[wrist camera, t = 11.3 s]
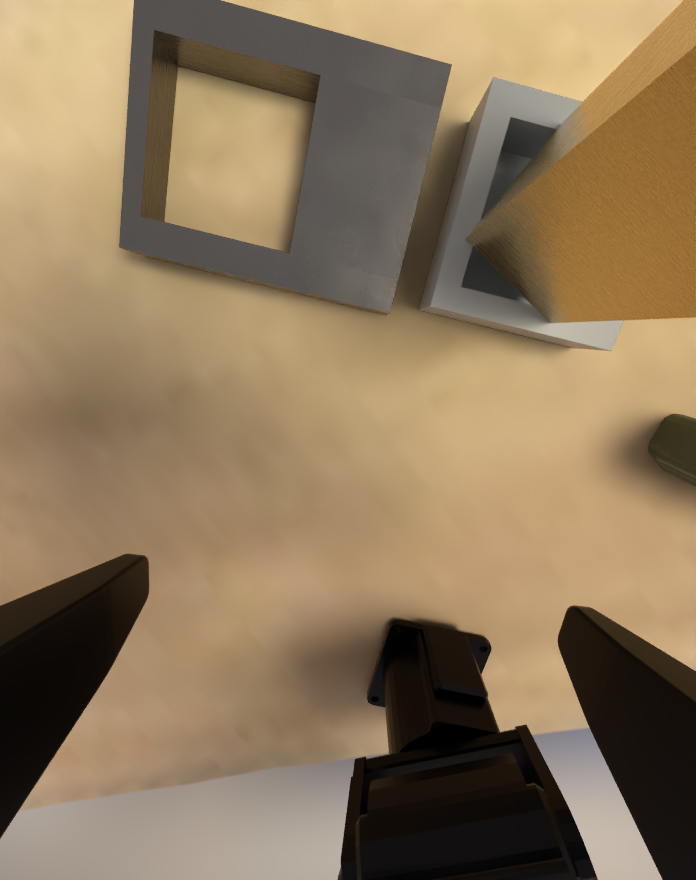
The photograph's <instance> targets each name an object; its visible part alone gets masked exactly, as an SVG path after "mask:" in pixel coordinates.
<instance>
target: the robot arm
mask: <svg viewBox="0 0 696 880" xmlns="http://www.w3.org/2000/svg"><path fill="white" fill-rule="evenodd" d="M148 594H149V563H148V559H147V557H146V556H144V555H135V554H124V555H122V556H119V557H117V558H115V559H112V560H110V561H107V562H105V563H102V564H100V565H98V566H95V567H93V568H90V569H88V570H86V571H83V572H81V573H78V574H76V575H74V576H71V577H69V578H66V579H64V580H61V581H59V582H57V583H54V584H52V585H49V586H47V587H45V588H42V589H40V590H37V591H35V592H32V593H30V594H28V595H25V596H23V597H20V598H18V599H16V600H13V601H11V602H8V603H6V604H4V605H1V606H0V838H1V837H2V835H3V834H4V832H5V831H6V829H7V827H8V826H9V825H10V823H11V821H12V820H13V818H14V817H15V815H16V814H17V812H18V811H19V809H20V808H21V806H22V805H23V803H24V802H25V800H26V799H27V797H28V795H29V794H30V792H31V791H32V789H33V788H34V786H35V785H36V783H37V782H38V780H39V779H40V777H41V776H42V774H43V772H44V771H45V769H46V768H47V766H48V765H49V763H50V762H51V760H52V759H53V757H54V756H55V754H56V753H57V751H58V749H59V748H60V746H61V745H62V743H63V742H64V740H65V739H66V737H67V736H68V734H69V733H70V731H71V730H72V728H73V727H74V725H75V723H76V722H77V720H78V719H79V717H80V716H81V714H82V713H83V711H84V710H85V708H86V707H87V705H88V704H89V702H90V700H91V699H92V697H93V696H94V694H95V693H96V691H97V690H98V688H99V687H100V685H101V684H102V682H103V680H104V679H105V677H106V676H107V674H108V672H109V670H110V669H111V667H112V665H113V663H114V661H115V660H116V658H117V656H118V654H119V652H120V650H121V648H122V646H123V644H124V642H125V641H126V639H127V637H128V635H129V633H130V631H131V629H132V627H133V625H134V623H135V621H136V620H137V618H138V616H139V614H140V612H141V610H142V608H143V606H144V604H145V602H146V600H147V598H148ZM395 628H400V629H398V630H395ZM481 646H484V647H481ZM558 646H559V650H560V653H561V655H562V658H563V660H564V663H565V666H566V668H567V671H568V673H569V676H570V679H571V681H572V684H573V687H574V689H575V692H576V694H577V697H578V700H579V702H580V705H581V708H582V710H583V713H584V715H585V718H586V720H587V722H588V725H589V727H590V729H591V732H592V734H593V736H594V738H595V740H596V742H597V744H598V747H599V749H600V751H601V753H602V755H603V757H604V759H605V761H606V763H607V765H608V767H609V769H610V771H611V773H612V776H613V778H614V780H615V782H616V784H617V786H618V788H619V790H620V792H621V794H622V796H623V798H624V800H625V803H626V805H627V807H628V809H629V811H630V813H631V815H632V817H633V819H634V821H635V823H636V825H637V827H638V829H639V832H640V834H641V836H642V838H643V840H644V842H645V844H646V846H647V848H648V850H649V852H650V854H651V856H652V859H653V860H654V863H655V865H656V867H657V869H658V871H659V873H660V875H661V877H662V879H663V880H696V671H694V670H693V669H691V668H689V667H688V666H686V665H684V664H683V663H681V662H680V661H678V660H676V659H675V658H673V657H671V656H670V655H668V654H666V653H665V652H663V651H662V650H660V649H658V648H657V647H655V646H653V645H652V644H650V643H648V642H647V641H645V640H644V639H642V638H640V637H639V636H637V635H635V634H634V633H632V632H630V631H629V630H627V629H625V628H624V627H622V626H621V625H619V624H617V623H616V622H614V621H612V620H611V619H609V618H607V617H606V616H604V615H603V614H601V613H599V612H598V611H596V610H594V609H592V608H590V607H583V606H570V607H569V608H568V609H567V611H566V614H565V617H564V620H563V623H562V626H561V629H560V632H559V635H558ZM490 652H491V645H490V643H489V641H488V640H487V639H486V638H484V637H479V636H474V635H469V634H464V633H459V632H455V631H450V630H445V629H440V628H435V627H430V626H426V625H421V624H416V623H411V622H406V621H401V620H393V621H391V622H390V623H389V625H388V628H387V631H386V635H385V638H384V641H383V644H382V647H381V650H380V654H379V657H378V660H377V663H376V666H375V669H374V673H373V676H372V679H371V682H370V685H369V688H368V691H367V700H368V702H369V703H370V704H372V705H377V706H382V707H385V710H386V722H387V734H388V746H389V755H384V756H379V757H374V758H369V759H366V757H362V758H357V759H355V763H354V772H353V777H351V783H350V791H349V799H348V806H347V814H346V823H345V830H344V838H343V845H342V854H341V869H340V872H339V875H338V880H598V879H597V876H596V873H595V871H594V868H593V865H592V863H591V860H590V857H589V855H588V853H587V850H586V847H585V845H584V842H583V839H582V837H581V835H580V832H579V830H578V828H577V825H576V823H575V821H574V818H573V816H572V814H571V812H570V810H569V807H568V805H567V803H566V801H565V799H564V797H563V795H562V793H561V791H560V789H559V787H558V785H557V783H556V781H555V779H554V778H553V776H552V774H551V772H550V770H549V768H548V766H547V764H546V762H545V760H544V758H543V756H542V754H541V752H540V750H539V749H538V747H537V745H536V743H535V741H534V739H533V737H532V735H531V733H530V731H529V729H528V727H527V725H522V726H517V727H515V729H514V730H509V731H504V732H500V731H499V728H498V725H497V723H496V720H495V717H494V714H493V712H492V709H491V706H490V703H489V701H488V698H487V697H488V692H487V690H486V687H485V684H484V682H483V679H482V676H481V674H482V671H483V669H484V666H485V664H486V662H487V659H488V657H489V654H490Z"/></svg>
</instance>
